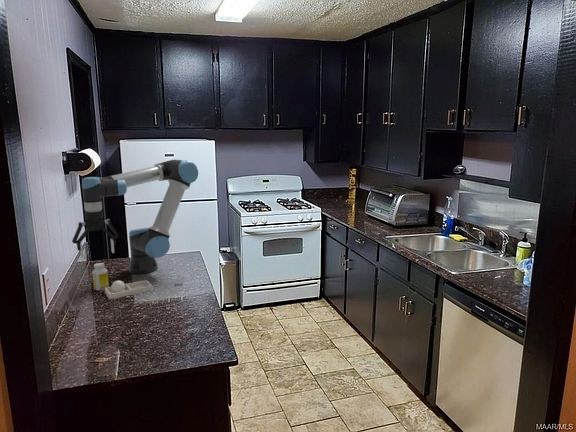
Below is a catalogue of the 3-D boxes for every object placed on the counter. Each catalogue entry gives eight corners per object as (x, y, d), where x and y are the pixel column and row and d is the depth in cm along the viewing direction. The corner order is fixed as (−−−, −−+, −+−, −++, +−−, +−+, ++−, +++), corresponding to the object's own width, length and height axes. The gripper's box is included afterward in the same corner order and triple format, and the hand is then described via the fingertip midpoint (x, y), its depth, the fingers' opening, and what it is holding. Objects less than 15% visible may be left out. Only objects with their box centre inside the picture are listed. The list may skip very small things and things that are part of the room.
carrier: (109, 301, 189) (108, 295, 189) (104, 293, 198) (103, 287, 198) (154, 291, 200) (153, 285, 200) (147, 285, 209) (147, 279, 209)
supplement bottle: (111, 287, 206) (109, 262, 204) (104, 292, 200) (102, 266, 197) (98, 287, 207) (96, 262, 205) (91, 292, 201) (88, 266, 198)
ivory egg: (110, 292, 197) (109, 280, 196) (124, 289, 201) (122, 277, 199) (113, 296, 192) (112, 284, 191) (127, 293, 196) (126, 281, 194)
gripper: (64, 214, 186) (69, 261, 190) (123, 209, 200) (127, 252, 204) (62, 212, 192) (67, 257, 196) (119, 206, 206) (123, 248, 210)
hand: (97, 254), depth 200 cm, fingers open, 13 cm apart
